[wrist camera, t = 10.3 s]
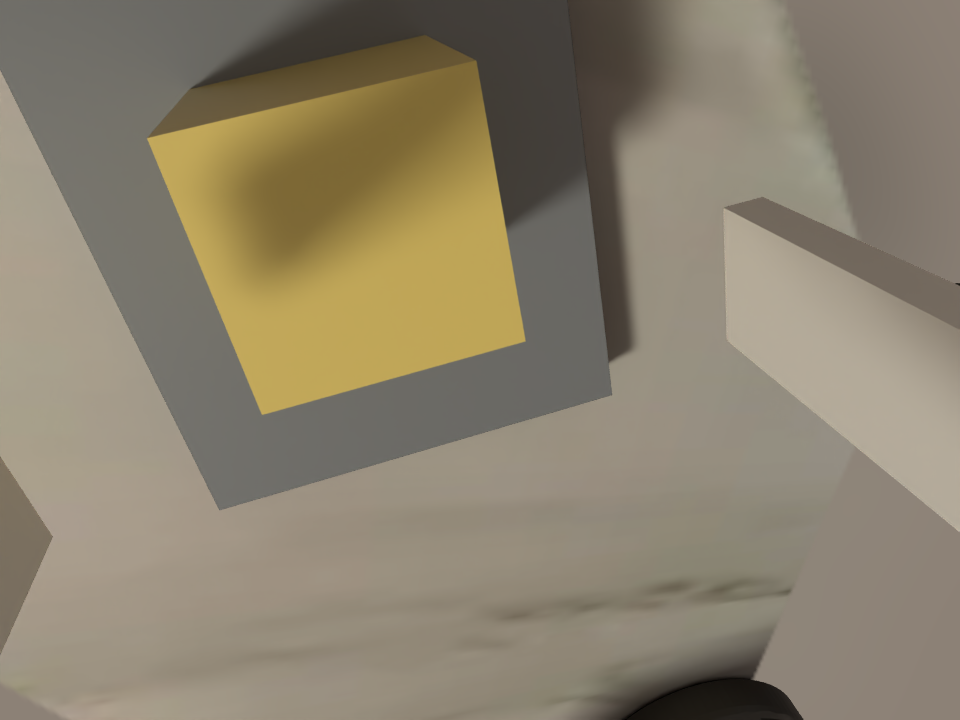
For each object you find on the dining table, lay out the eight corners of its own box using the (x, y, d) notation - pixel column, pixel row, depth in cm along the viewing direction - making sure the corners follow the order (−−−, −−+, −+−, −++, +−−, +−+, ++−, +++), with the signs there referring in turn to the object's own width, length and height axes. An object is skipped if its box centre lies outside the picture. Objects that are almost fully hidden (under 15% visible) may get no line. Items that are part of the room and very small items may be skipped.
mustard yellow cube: (469, 252, 25) (525, 341, 19) (269, 304, 24) (261, 415, 18) (425, 34, 21) (476, 60, 15) (189, 89, 21) (146, 138, 15)
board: (594, 371, 31) (658, 456, 26) (223, 478, 29) (208, 593, 24) (532, -125, 22) (610, -157, 16) (-10, -10, 20) (-121, -2, 15)
